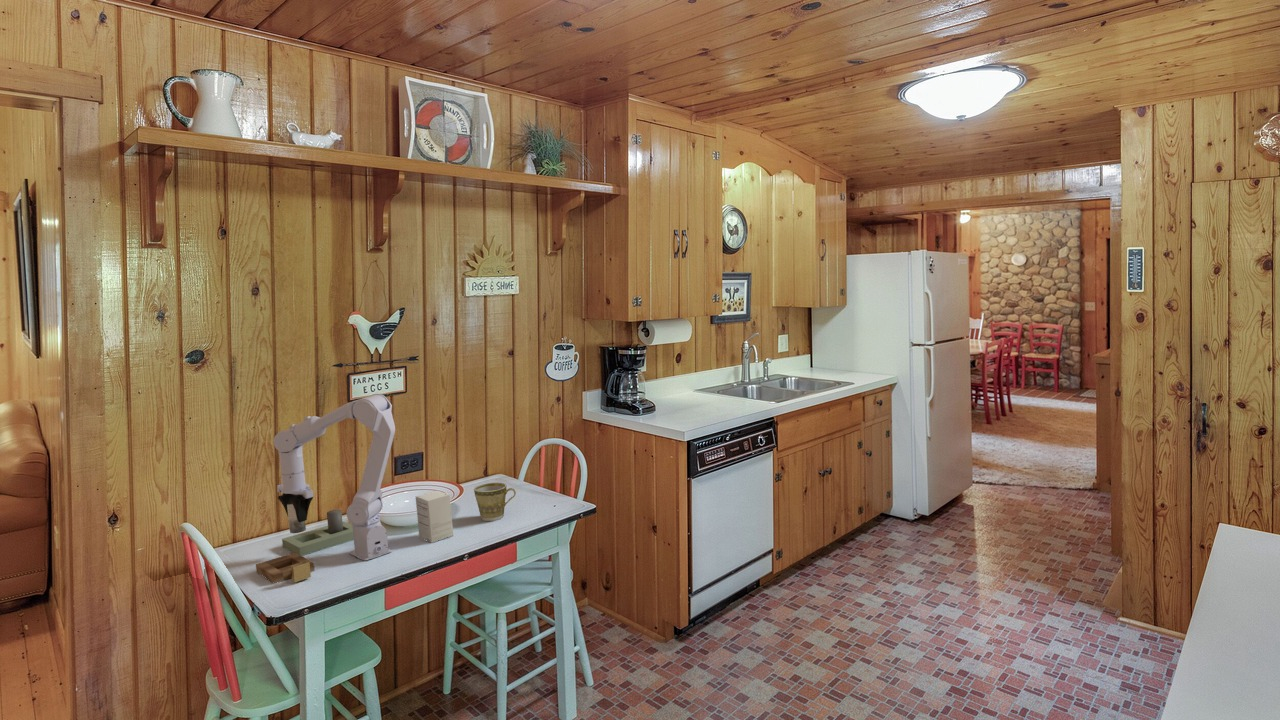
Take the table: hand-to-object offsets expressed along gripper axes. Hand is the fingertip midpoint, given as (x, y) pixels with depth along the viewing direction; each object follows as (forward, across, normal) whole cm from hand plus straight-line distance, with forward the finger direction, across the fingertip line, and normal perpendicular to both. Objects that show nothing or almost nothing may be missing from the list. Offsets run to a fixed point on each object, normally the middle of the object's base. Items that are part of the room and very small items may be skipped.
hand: (297, 519), depth 196 cm
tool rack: (+10, +4, -9) cm, 14 cm away
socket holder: (+10, -8, +9) cm, 16 cm away
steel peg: (+3, 0, 0) cm, 3 cm away
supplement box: (+10, -24, -27) cm, 38 cm away
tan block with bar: (+9, -15, +10) cm, 20 cm away
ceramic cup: (+10, -29, -47) cm, 56 cm away
